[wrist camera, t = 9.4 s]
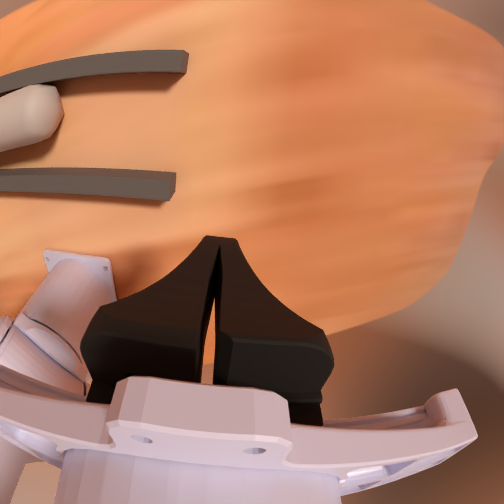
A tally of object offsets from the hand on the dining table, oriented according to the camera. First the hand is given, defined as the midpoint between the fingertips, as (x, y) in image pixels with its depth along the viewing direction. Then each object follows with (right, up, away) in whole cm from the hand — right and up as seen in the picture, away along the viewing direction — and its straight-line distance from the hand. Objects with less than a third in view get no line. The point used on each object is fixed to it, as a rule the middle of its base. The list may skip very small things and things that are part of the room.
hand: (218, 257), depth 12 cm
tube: (-25, +12, +4) cm, 28 cm away
